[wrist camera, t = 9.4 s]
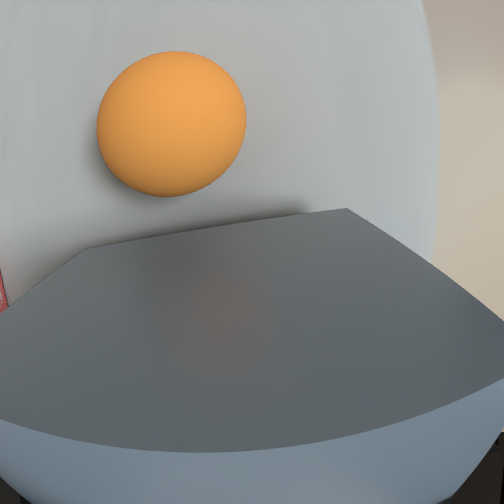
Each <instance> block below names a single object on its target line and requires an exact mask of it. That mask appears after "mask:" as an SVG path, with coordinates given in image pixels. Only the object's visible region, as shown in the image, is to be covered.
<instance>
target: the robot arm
mask: <svg viewBox="0 0 504 504" xmlns="http://www.w3.org/2000/svg"><path fill="white" fill-rule="evenodd" d="M0 504H31V503H30V502H29V501H28V500H26V499H25V498H24V497H23V496H21V495H20V494H19V493H18V492H17V491H16V490H14V489H13V488H12V487H11V486H10V485H9V484H8V483H7V482H6V481H4V480H3V479H2V478H1V477H0ZM445 504H504V432H501V433H500V434H499V436H498V437H497V439H496V440H495V442H494V443H493V445H492V446H491V448H490V449H489V451H488V452H487V453H486V455H485V456H484V457H483V459H482V460H481V461H480V463H479V464H478V465H477V467H476V468H475V469H474V471H473V472H472V473H471V474H470V476H469V477H468V478H467V479H466V480H465V482H464V483H463V484H462V485H461V486H460V487H459V489H458V490H457V491H456V492H455V493H454V494H453V495H452V496H451V498H450V499H449V500H448V501H447V502H446V503H445Z"/></svg>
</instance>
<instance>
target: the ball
mask: <svg viewBox="0 0 504 504" xmlns="http://www.w3.org/2000/svg"><path fill="white" fill-rule="evenodd" d="M245 129H246V110H245V105H244V101H243V98H242V95H241V93H240V90H239V88H238V87H237V85H236V83H235V82H234V80H233V79H232V78H231V76H230V75H229V74H228V73H227V72H226V71H225V70H224V69H223V68H222V67H220V66H219V65H217V64H216V63H214V62H213V61H211V60H209V59H207V58H205V57H203V56H200V55H197V54H194V53H188V52H177V51H171V52H162V53H158V54H154V55H151V56H148V57H145V58H143V59H141V60H139V61H137V62H135V63H134V64H132V65H131V66H129V67H128V68H126V69H125V70H124V71H123V72H122V73H121V74H120V75H119V76H118V77H117V78H116V79H115V80H114V81H113V83H112V84H111V85H110V87H109V88H108V90H107V92H106V93H105V95H104V97H103V100H102V102H101V105H100V108H99V112H98V117H97V139H98V144H99V148H100V151H101V154H102V156H103V158H104V160H105V162H106V164H107V166H108V167H109V168H110V170H111V171H112V172H113V173H114V174H115V175H116V176H117V178H119V179H120V180H121V181H122V182H124V183H125V184H126V185H128V186H129V187H131V188H133V189H135V190H137V191H139V192H142V193H145V194H149V195H153V196H160V197H174V196H181V195H185V194H189V193H192V192H195V191H197V190H200V189H202V188H204V187H206V186H208V185H209V184H211V183H212V182H214V181H215V180H216V179H218V178H219V177H220V176H221V175H222V174H223V173H224V172H225V171H226V170H227V169H228V168H229V166H230V165H231V164H232V162H233V161H234V159H235V158H236V156H237V154H238V152H239V150H240V148H241V145H242V142H243V139H244V135H245Z"/></svg>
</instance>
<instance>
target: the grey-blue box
mask: <svg viewBox="0 0 504 504" xmlns="http://www.w3.org/2000/svg"><path fill="white" fill-rule="evenodd" d="M503 428H504V321H503V320H502V319H500V318H499V317H498V316H497V315H496V314H494V313H493V312H492V311H491V310H490V309H488V308H487V307H486V306H485V305H484V304H482V303H481V302H480V301H479V300H477V299H476V298H475V297H474V296H472V295H471V294H470V293H469V292H467V291H466V290H465V289H463V288H462V287H461V286H460V285H458V284H457V283H456V282H454V281H453V280H452V279H450V278H449V277H448V276H446V275H445V274H444V273H442V272H441V271H440V270H438V269H437V268H436V267H434V266H433V265H432V264H430V263H429V262H427V261H426V260H425V259H423V258H422V257H420V256H419V255H418V254H416V253H415V252H413V251H412V250H410V249H409V248H407V247H406V246H405V245H403V244H402V243H400V242H399V241H397V240H396V239H394V238H393V237H391V236H390V235H388V234H387V233H385V232H384V231H382V230H381V229H379V228H378V227H376V226H374V225H373V224H371V223H370V222H368V221H367V220H365V219H364V218H362V217H360V216H359V215H357V214H356V213H354V212H352V211H351V210H349V209H347V208H344V209H336V210H328V211H320V212H312V213H305V214H297V215H290V216H283V217H276V218H269V219H262V220H255V221H248V222H241V223H235V224H228V225H222V226H215V227H209V228H203V229H197V230H190V231H184V232H178V233H172V234H166V235H161V236H155V237H149V238H143V239H138V240H132V241H127V242H121V243H116V244H110V245H105V246H99V247H94V248H89V249H85V250H84V251H82V252H81V253H80V254H78V255H77V256H75V257H74V258H72V259H71V260H70V261H68V262H67V263H65V264H64V265H63V266H61V267H60V268H58V269H57V270H56V271H54V272H53V273H52V274H50V275H49V276H47V277H46V278H45V279H43V280H42V281H41V282H39V283H38V284H37V285H35V286H34V287H33V288H32V289H30V290H29V291H28V292H26V293H25V294H24V295H23V296H21V297H20V298H19V299H18V300H16V301H15V302H14V303H13V304H11V305H10V306H9V307H8V308H6V309H5V310H4V311H3V312H2V313H0V477H1V478H2V479H3V480H4V481H6V482H7V483H8V484H9V485H10V486H11V487H12V488H13V489H14V490H16V491H17V492H18V493H19V494H20V495H21V496H23V497H24V498H25V499H26V500H28V501H29V502H30V503H31V504H445V503H446V502H447V501H448V500H449V499H450V498H451V496H452V495H453V494H454V493H455V492H456V491H457V490H458V489H459V487H460V486H461V485H462V484H463V483H464V482H465V480H466V479H467V478H468V477H469V476H470V474H471V473H472V472H473V471H474V469H475V468H476V467H477V465H478V464H479V463H480V461H481V460H482V459H483V457H484V456H485V455H486V453H487V452H488V451H489V449H490V448H491V446H492V445H493V443H494V442H495V440H496V439H497V437H498V436H499V434H500V433H501V431H502V430H503Z"/></svg>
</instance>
